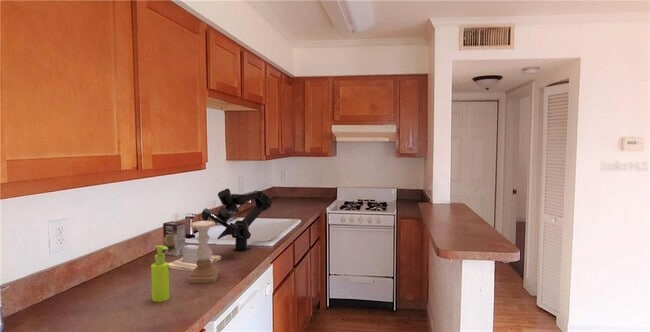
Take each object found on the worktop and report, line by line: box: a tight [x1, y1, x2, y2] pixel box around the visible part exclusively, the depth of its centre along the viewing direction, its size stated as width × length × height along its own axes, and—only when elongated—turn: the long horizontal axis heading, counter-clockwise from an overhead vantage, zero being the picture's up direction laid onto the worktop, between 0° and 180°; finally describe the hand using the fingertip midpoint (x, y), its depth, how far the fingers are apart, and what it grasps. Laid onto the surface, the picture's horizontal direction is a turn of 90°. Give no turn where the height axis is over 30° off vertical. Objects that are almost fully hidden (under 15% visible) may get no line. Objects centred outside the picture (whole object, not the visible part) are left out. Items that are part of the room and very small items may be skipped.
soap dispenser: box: [150, 244, 170, 303], centre depth 140 cm, size 6×7×20 cm
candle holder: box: [187, 220, 220, 284], centre depth 161 cm, size 11×11×24 cm
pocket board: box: [168, 254, 222, 273], centre depth 182 cm, size 20×16×2 cm
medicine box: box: [181, 244, 199, 264], centre depth 180 cm, size 8×4×9 cm, turn 69°
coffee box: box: [162, 220, 186, 257], centre depth 197 cm, size 9×6×16 cm
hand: (209, 233), depth 182 cm, fingers open, 9 cm apart
